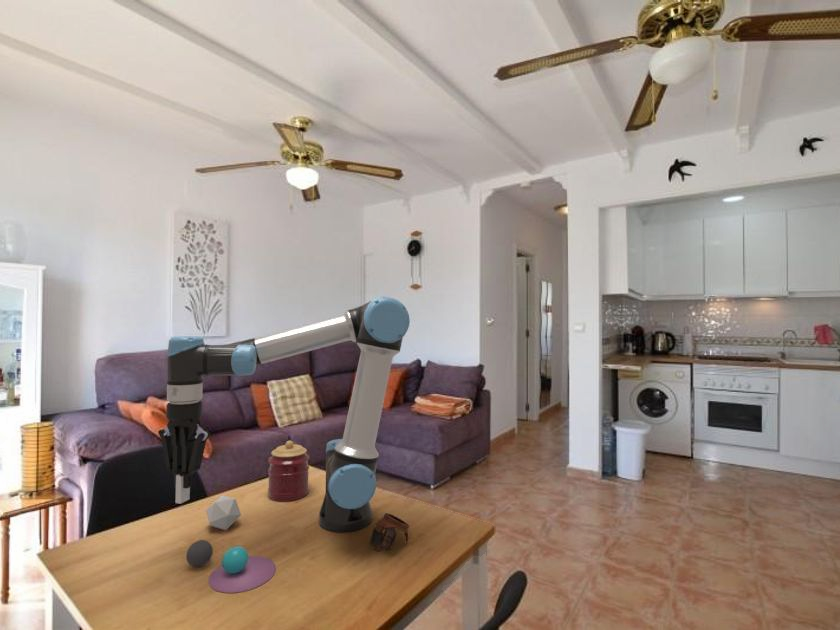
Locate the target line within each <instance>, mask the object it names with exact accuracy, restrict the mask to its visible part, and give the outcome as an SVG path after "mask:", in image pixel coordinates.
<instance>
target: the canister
mask: <svg viewBox="0 0 840 630" xmlns="http://www.w3.org/2000/svg"><path fill="white" fill-rule="evenodd" d="M307 452H308V450H307V448H306V447H303V446H302V445H301V444H295V443H294V442H293V440H287V441H285V444H284V445H279V446H277V447H276V448H275V449H273V450H272V451H271V453H270V454H271V455H272V456H270V457H269V458H268V463H269V468H268V470H267V472H268V488H267V494H268V498H270V499H271V500H273V501H277V502H291V501H296V500H300V499H301V498H305V497H306V496H307V495H308V493H309V489H310V485H309V469H310V466H309V464H308V463H309V462H308V461H309V459H310V456H309V455H308V454H307Z"/></svg>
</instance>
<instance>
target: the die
mask: <svg viewBox="0 0 840 630" xmlns="http://www.w3.org/2000/svg"><path fill="white" fill-rule="evenodd" d="M205 512H206V516H207V520H208V523H209V524H210V527H212V528H215V529H220V530H223V531H227V530H228V529H229V528H230V527H231V526H232V525H233V524H234V523H235V522H236V521H237V520H238V519H239V518H241V516H242V514H241V510H240V508H239V504H238V502H237V499H236V498H235V497H231V496H226V495H220V496H219V497H218V498H217V499H216V500H215V501H214V502H213V503H211V505H210V506H208V507H207V508H206V510H205Z"/></svg>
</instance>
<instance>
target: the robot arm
mask: <svg viewBox="0 0 840 630" xmlns="http://www.w3.org/2000/svg"><path fill="white" fill-rule="evenodd" d="M409 327H410V314H409V311H408V310H407V308H406V306H405V304H403V303H402V302H401V301H400V300H398V299H397V298H396V299H395V298H393V297H390V296H380V297H377V298H376V297H375V299H373V300H370V301H368V302H366V303H364V304H362V305H360V306H357V307H355V308H354V307H353V308H351V309H347V310H345V312H344V313H343V314H342V315H338V316H335V317H330V318H327V319H323V320H318V321H314V322H311V323H306V324H303V325H298V326H295V327H292V328H287V329H283V330H280V331H276V332H272V333H268V334H264V335H261V336H256V337H254V338H249V339H245V340H242V341H237V342H233V343H230V344H205V339H204V337H202V336H173V337H171V338H169V340H168V346H167V355H166V358H167V359H166V360H167V364H166V365H167V369H166V370H167V374H166V375H167V376H166V377H167V378H166V379H167V381H166V401H167V402H168V403H167V404H166V408H165V409H166V411H165V412H166V413H165V415H166V416H165V418H166V419H167V420H168V422H167V424H166V427H164V428H162V429H159V430H158V436H159V437H160V440H161V445H162V450H163V451H162V452H163V456H164V463H165V468H166V470H167V471H170V472H172V473H173V476H174V477H173V487H174V488H175V504H180V505H181V504H183V503H185V502H187V501H189V500H190V499H191V498H190V497H191V496H190V495H191V494H190V492H191V487H192V485H193V473H195V472H198V471H200V469H201V466H202V460H203V457H204V454H205V448H206V443H207V440H208V439H209V438H210V435H211V432H210V431H209V430H207V431H206V430H204V428H202V424H201V423H202V422H201V417H202V415H203V402H202V401H201V400H202V399H203V397H204V396H203V395H204V393H203V390H204V389H203V387H204V386H203V384H204V383H203V382H204V379H203V378H204V376H205V377H210V376H212V377H213V376H216V377H217V376H218V377H219V376H224V377H225V376H235V377H236V376H237V377H243V376H252V375H253V374H255V373H256V368H257V366H260V365H263V364H268V363H270V362H274V361H277V360H281V359H284V358H285V359H286V358H288V357H293V356H296V355H300V354H303V353H307V352H311V351H316V350H318V349H322V348H326V347H331V346H334V345H337V344H340V343H341V344H342V343H344V342H349V341H352V342H353V343H356V344H357V346H358V348H359V349H360V355H359V360H358V363H357V364H358V365H357V368H356V374H355V378H354V384H353V388H352V393H351V397H350V402H349V408H348V411H347V416H346V421H345V426H344V431H343V435H342V438H338V439H333V440H330V441H328V442H327V443H326V448H325V455H326V456H325V494H324V498H323V501H322V503H321V507H320V510H319V513H318V525H319V526H321V528H322V529H325V530H327V531H331V532H338V533H345V532H347V533H348V532H354V531H357V529H358V530H360V528H361V529H363V528H365V527H366V525H367V526H368V525H369V524H370V523H371V522H372V520H373V511H372V509H373V508H372V506H371V504H370V501H371V500H372V498H374V495H375V494H376V490H377V482H378V481H377V476H376V470H377V467H378V466H377V465H378V462H379V461H378V460H379V456H380V454H379V452H378V450H377V448H376V442H377V437H378V432H379V427H380V422H381V417H382V413H383V407H384V402H385V396H386V393H387V388H388V382H389V379H390V378H389V377H390V373H391V368H392V363H393V359H394V358H395V356H397V355H398V354H399V353H400V352H401V348H402V343H403V339H404V337H405V336H406V333H407V332H408V330H409ZM371 519H372V520H371ZM370 521H371V522H370ZM353 530H354V531H353Z"/></svg>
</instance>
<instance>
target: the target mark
mask: <svg viewBox="0 0 840 630" xmlns="http://www.w3.org/2000/svg"><path fill="white" fill-rule="evenodd" d="M276 569H277V566H276V563H275V562H274V561H273V560H272V559H270V558H268V557H265V556H257V555H255V556H254V555H253V556H252V555H251V556H249V555H248V562H247V564H246V566H245V568H244V569H243V570H242V571H240V572H239V573H236V574H229V573H227V572H225V571H224V569H223V567H222V564H221V565H219V566H218V567H216V568H215V569H214V570H213V571H212V573H210V576H209V577H208V584H209V587H210V588H211V589H212V590H214V591H216V592H219V593H221V594H222V593H223V594H236V593H237V594H238V593H244V592H248V591H251V590H254V589H256V588H258V587H261V586H263V585H264V584H266V583H267V582H268V581H270V580H271V579H272V578H273V576H275V573H276Z"/></svg>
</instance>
